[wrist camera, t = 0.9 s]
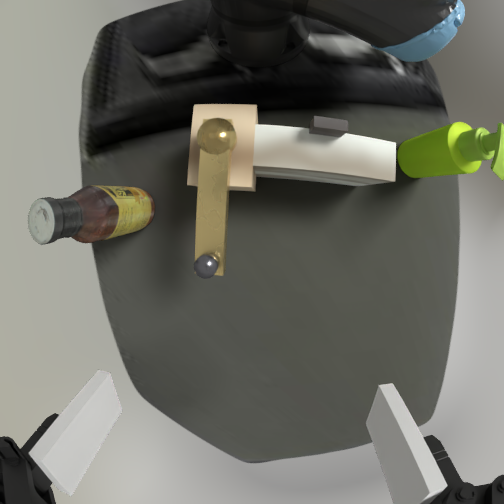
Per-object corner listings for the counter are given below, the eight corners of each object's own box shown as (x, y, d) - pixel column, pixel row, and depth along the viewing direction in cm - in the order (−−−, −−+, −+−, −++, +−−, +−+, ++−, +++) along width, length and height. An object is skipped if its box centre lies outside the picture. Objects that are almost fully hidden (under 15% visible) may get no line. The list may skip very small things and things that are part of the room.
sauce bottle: (156, 186, 37) (68, 179, 18) (157, 230, 38) (72, 258, 19) (117, 189, 37) (21, 187, 18) (118, 230, 39) (24, 256, 19)
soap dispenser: (390, 172, 35) (482, 157, 16) (403, 133, 34) (491, 96, 14) (420, 191, 36) (516, 192, 16) (432, 152, 34) (524, 133, 15)
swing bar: (202, 122, 23) (193, 112, 19) (238, 123, 22) (234, 112, 19) (194, 268, 25) (185, 278, 22) (229, 271, 25) (225, 281, 22)
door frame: (214, 132, 36) (187, 95, 21) (358, 144, 35) (407, 118, 21) (210, 189, 37) (179, 183, 23) (356, 200, 36) (406, 202, 22)
